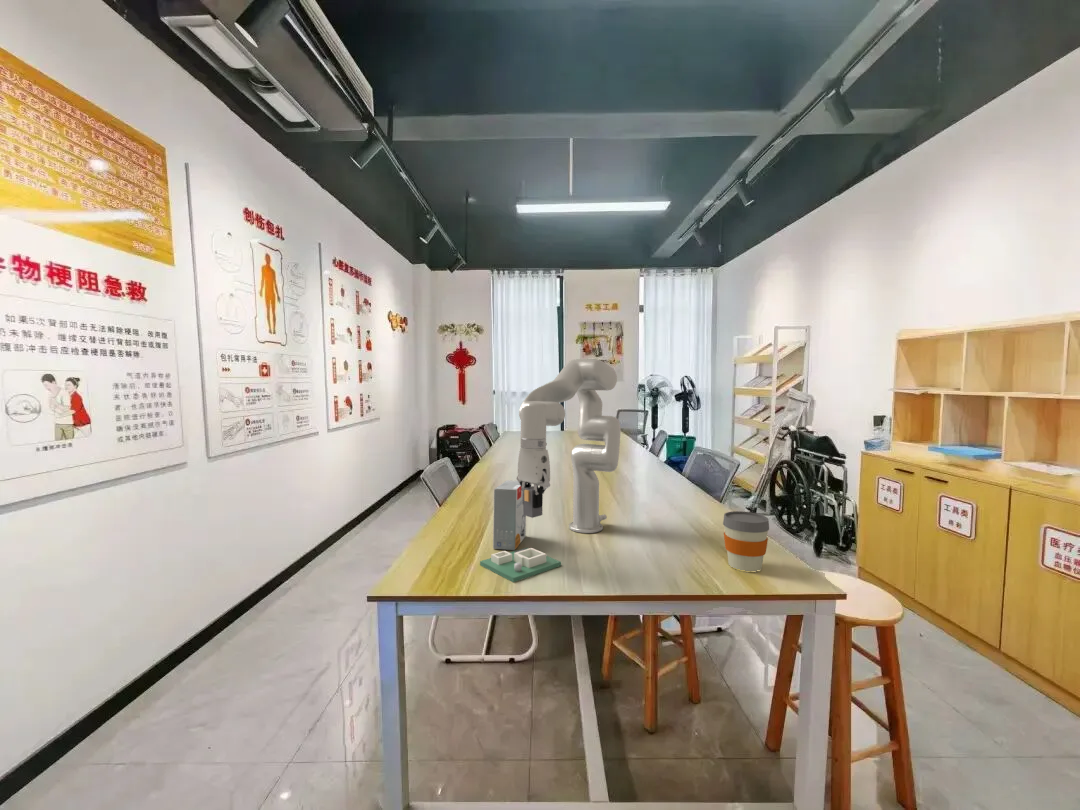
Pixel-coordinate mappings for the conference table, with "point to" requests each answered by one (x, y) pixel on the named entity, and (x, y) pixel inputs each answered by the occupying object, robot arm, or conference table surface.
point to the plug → (530, 503)
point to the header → (525, 556)
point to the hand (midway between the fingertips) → (532, 505)
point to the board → (525, 571)
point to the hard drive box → (508, 516)
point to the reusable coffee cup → (745, 539)
